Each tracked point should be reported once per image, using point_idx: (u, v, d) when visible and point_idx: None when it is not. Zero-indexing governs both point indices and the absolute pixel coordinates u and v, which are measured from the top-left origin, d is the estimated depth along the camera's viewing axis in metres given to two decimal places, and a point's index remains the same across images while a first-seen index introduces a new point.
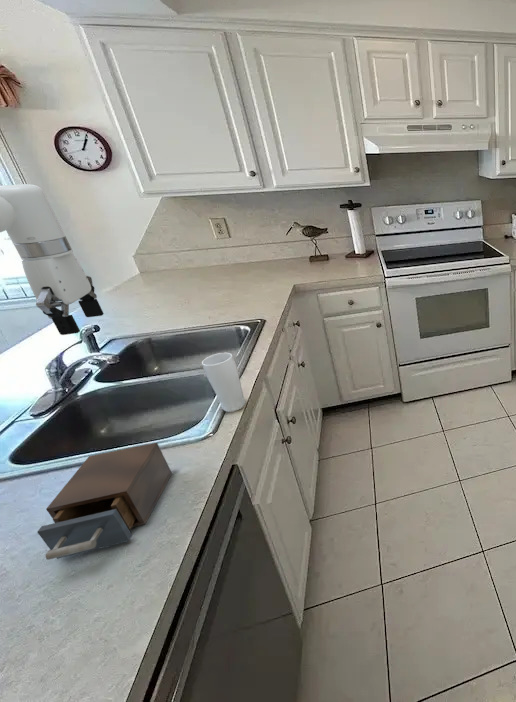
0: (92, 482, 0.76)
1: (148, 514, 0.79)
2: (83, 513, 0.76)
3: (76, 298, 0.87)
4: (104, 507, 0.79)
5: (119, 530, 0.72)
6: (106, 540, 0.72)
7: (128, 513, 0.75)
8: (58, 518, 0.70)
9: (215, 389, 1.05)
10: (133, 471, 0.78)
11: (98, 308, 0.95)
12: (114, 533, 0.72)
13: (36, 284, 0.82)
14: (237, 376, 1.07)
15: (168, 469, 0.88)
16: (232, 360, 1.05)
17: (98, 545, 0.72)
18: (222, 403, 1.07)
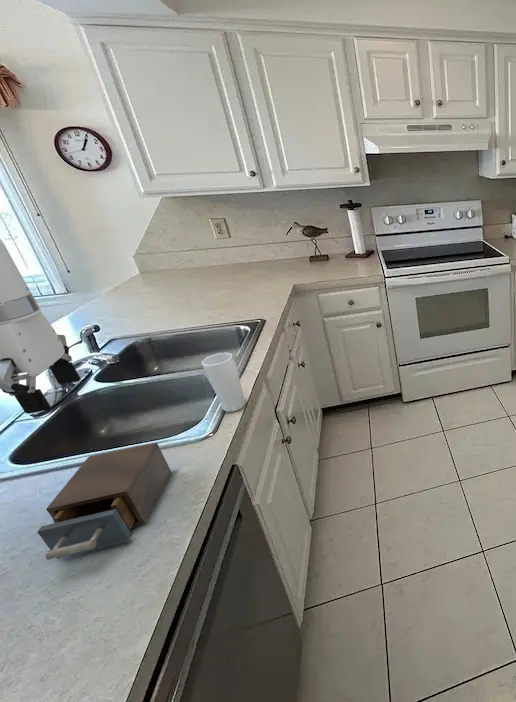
0: (92, 482, 0.76)
1: (148, 514, 0.79)
2: (83, 513, 0.76)
3: (45, 367, 0.71)
4: (104, 507, 0.79)
5: (119, 530, 0.72)
6: (106, 540, 0.72)
7: (128, 513, 0.75)
8: (58, 518, 0.70)
9: (215, 389, 1.05)
10: (133, 471, 0.78)
11: (73, 372, 0.78)
12: (114, 533, 0.72)
13: None
14: (237, 376, 1.07)
15: (168, 469, 0.88)
16: (232, 360, 1.05)
17: (98, 545, 0.72)
18: (222, 403, 1.07)
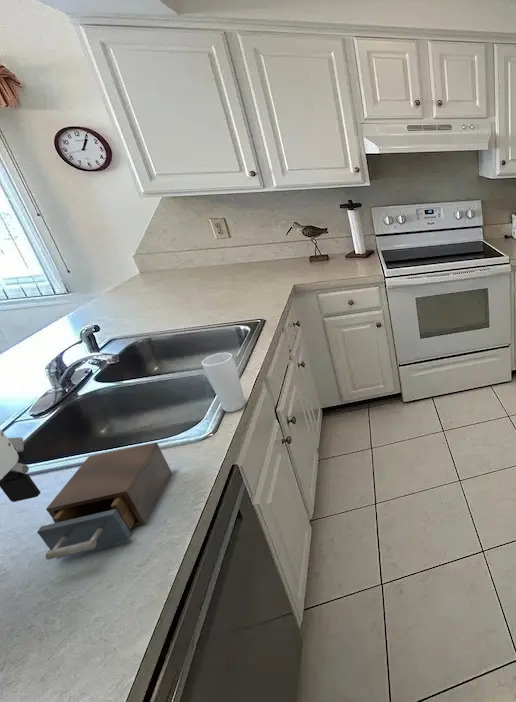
0: (92, 482, 0.76)
1: (148, 514, 0.79)
2: (83, 513, 0.76)
3: None
4: (104, 507, 0.79)
5: (119, 530, 0.72)
6: (106, 540, 0.72)
7: (128, 513, 0.75)
8: (58, 518, 0.70)
9: (215, 389, 1.05)
10: (133, 471, 0.78)
11: (30, 487, 0.60)
12: (114, 533, 0.72)
13: None
14: (237, 376, 1.07)
15: (168, 469, 0.88)
16: (232, 360, 1.05)
17: (98, 545, 0.72)
18: (222, 403, 1.07)
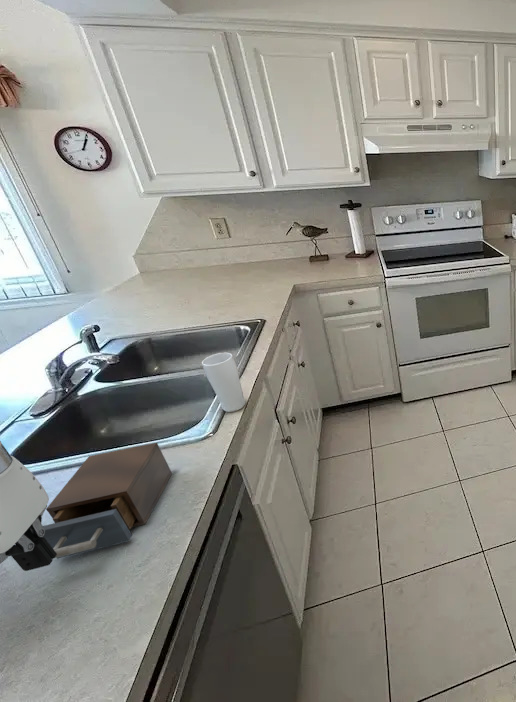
0: (92, 482, 0.76)
1: (148, 514, 0.79)
2: (83, 513, 0.76)
3: (21, 533, 0.57)
4: (104, 507, 0.79)
5: (119, 530, 0.72)
6: (106, 540, 0.72)
7: (128, 513, 0.75)
8: (58, 518, 0.70)
9: (215, 389, 1.05)
10: (133, 471, 0.78)
11: (47, 549, 0.61)
12: (114, 533, 0.72)
13: None
14: (237, 376, 1.07)
15: (168, 469, 0.88)
16: (232, 360, 1.05)
17: (98, 545, 0.72)
18: (222, 403, 1.07)
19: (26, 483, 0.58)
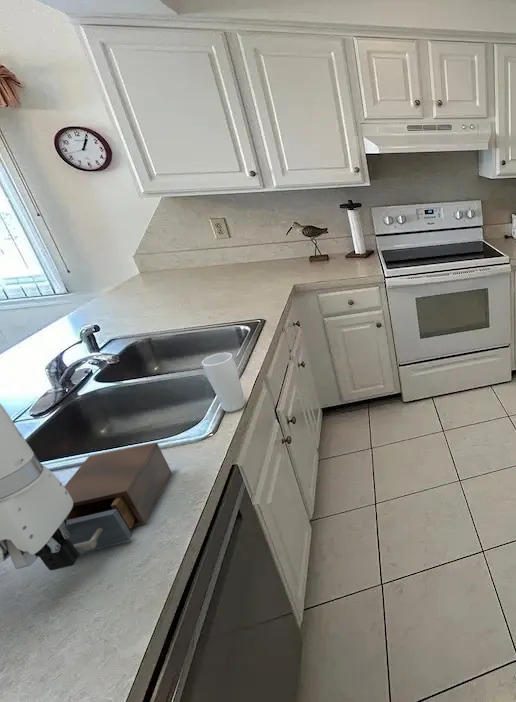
0: (92, 482, 0.76)
1: (148, 514, 0.79)
2: (84, 513, 0.76)
3: (50, 535, 0.61)
4: (104, 507, 0.79)
5: (119, 530, 0.72)
6: (106, 540, 0.72)
7: (128, 513, 0.75)
8: None
9: (215, 389, 1.05)
10: (133, 471, 0.78)
11: (71, 550, 0.65)
12: (114, 533, 0.72)
13: None
14: (237, 376, 1.07)
15: (168, 469, 0.88)
16: (232, 360, 1.05)
17: (98, 545, 0.72)
18: (222, 403, 1.07)
19: (54, 489, 0.63)
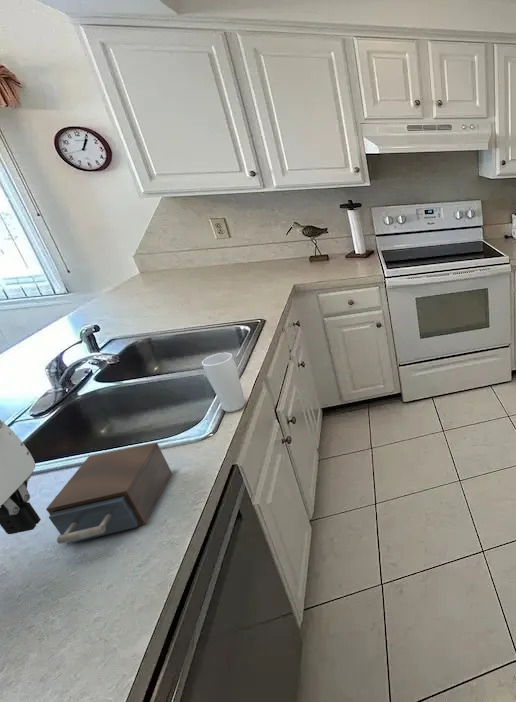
0: (92, 482, 0.76)
1: (148, 514, 0.79)
2: None
3: (7, 496, 0.58)
4: None
5: (127, 516, 0.74)
6: (114, 526, 0.74)
7: None
8: None
9: (215, 389, 1.05)
10: (133, 471, 0.78)
11: (31, 514, 0.62)
12: (122, 520, 0.74)
13: None
14: (237, 376, 1.07)
15: (168, 469, 0.88)
16: (232, 360, 1.05)
17: (107, 530, 0.74)
18: (222, 403, 1.07)
19: (14, 448, 0.60)
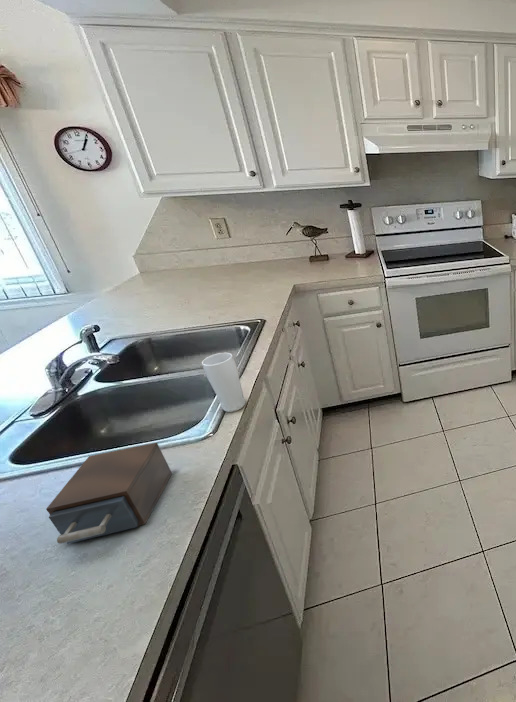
0: (92, 482, 0.76)
1: (148, 514, 0.79)
2: None
3: None
4: None
5: (127, 516, 0.74)
6: (114, 526, 0.74)
7: None
8: None
9: (215, 389, 1.05)
10: (133, 471, 0.78)
11: None
12: (122, 520, 0.74)
13: None
14: (237, 376, 1.07)
15: (168, 469, 0.88)
16: (232, 360, 1.05)
17: (107, 530, 0.74)
18: (222, 403, 1.07)
19: None
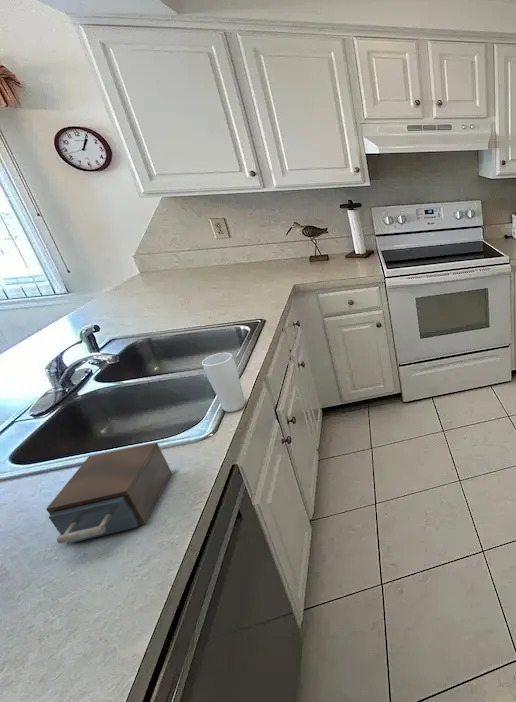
0: (92, 482, 0.76)
1: (148, 514, 0.79)
2: None
3: None
4: None
5: (127, 516, 0.74)
6: (114, 526, 0.74)
7: None
8: None
9: (215, 389, 1.05)
10: (133, 471, 0.78)
11: None
12: (122, 520, 0.74)
13: None
14: (237, 376, 1.07)
15: (168, 469, 0.88)
16: (232, 360, 1.05)
17: (107, 530, 0.74)
18: (222, 403, 1.07)
19: None
